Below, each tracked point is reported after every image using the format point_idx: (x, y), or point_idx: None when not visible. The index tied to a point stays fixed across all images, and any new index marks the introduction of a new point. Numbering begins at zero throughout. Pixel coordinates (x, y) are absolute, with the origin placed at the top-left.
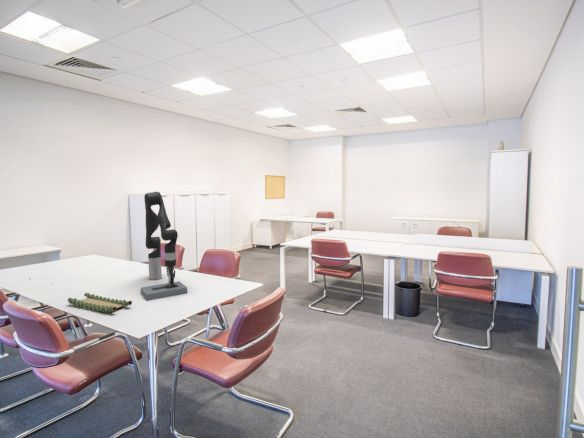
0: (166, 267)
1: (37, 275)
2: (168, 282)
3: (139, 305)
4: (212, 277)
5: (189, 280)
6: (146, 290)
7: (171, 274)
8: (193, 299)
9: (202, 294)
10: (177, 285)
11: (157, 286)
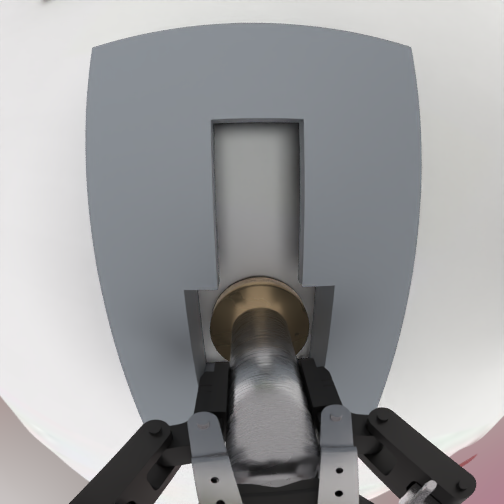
0: (470, 493)
1: None
2: (265, 356)
3: (56, 33)
4: (369, 491)
5: (420, 429)
6: (251, 52)
7: (96, 475)
8: (30, 365)
9: (98, 429)
10: None
11: (353, 210)
